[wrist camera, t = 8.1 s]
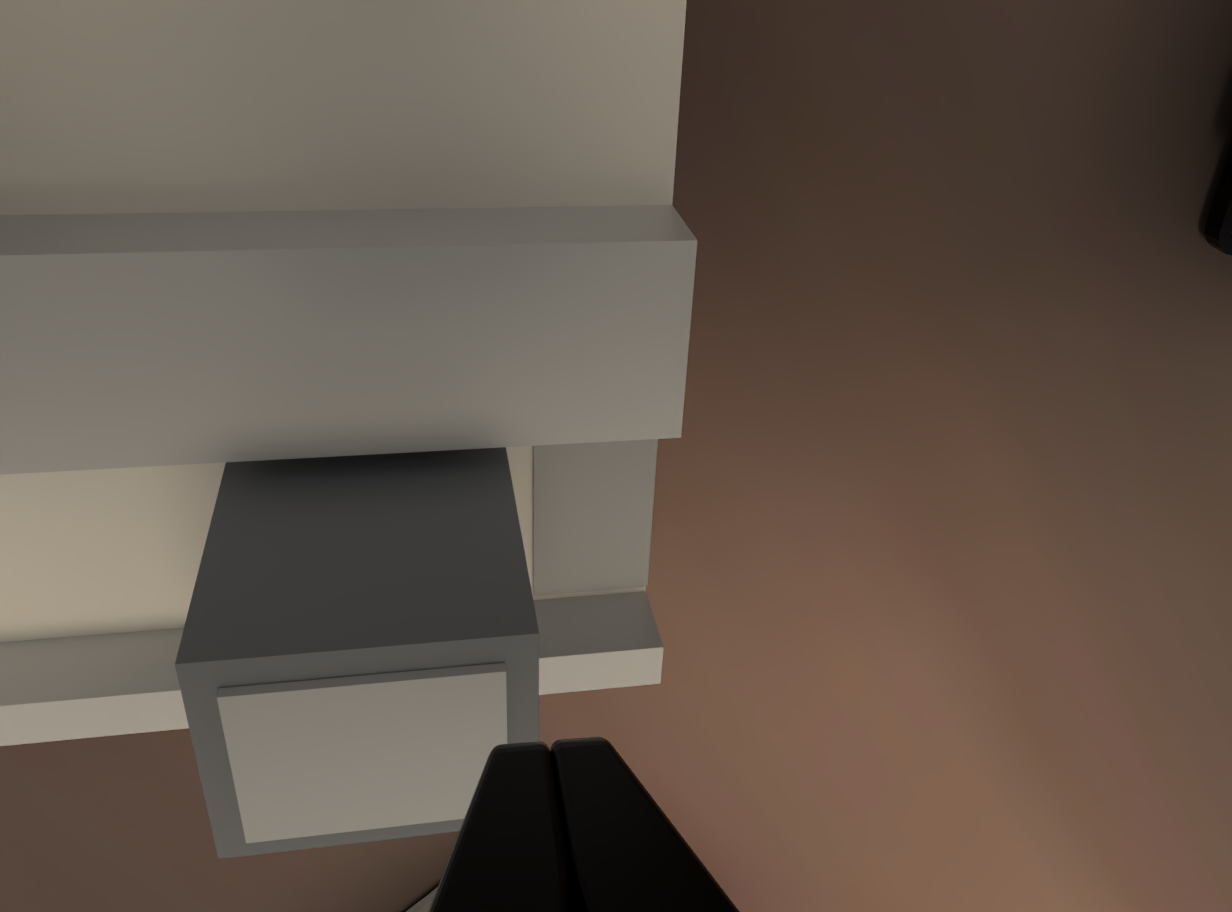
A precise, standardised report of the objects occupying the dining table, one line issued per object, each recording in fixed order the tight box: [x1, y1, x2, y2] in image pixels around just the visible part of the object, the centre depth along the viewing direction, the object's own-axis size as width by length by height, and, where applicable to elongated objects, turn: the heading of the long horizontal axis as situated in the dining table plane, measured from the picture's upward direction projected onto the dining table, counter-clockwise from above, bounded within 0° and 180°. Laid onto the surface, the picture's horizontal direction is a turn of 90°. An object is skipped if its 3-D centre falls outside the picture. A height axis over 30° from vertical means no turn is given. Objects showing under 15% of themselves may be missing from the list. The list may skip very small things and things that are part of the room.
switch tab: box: [175, 447, 539, 859], centre depth 15 cm, size 4×3×5 cm
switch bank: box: [0, 0, 697, 746], centre depth 15 cm, size 16×15×4 cm
